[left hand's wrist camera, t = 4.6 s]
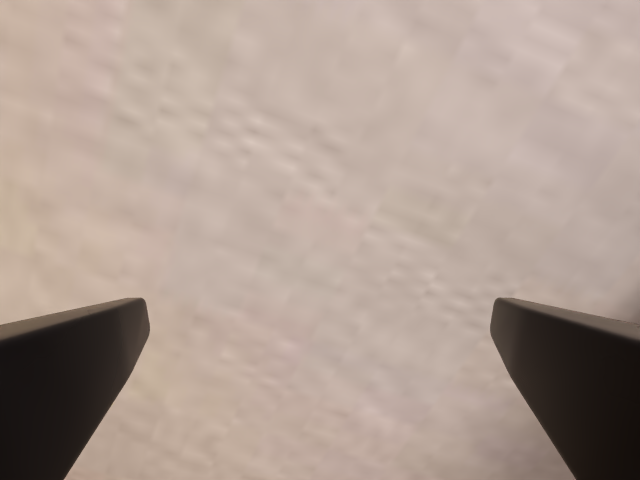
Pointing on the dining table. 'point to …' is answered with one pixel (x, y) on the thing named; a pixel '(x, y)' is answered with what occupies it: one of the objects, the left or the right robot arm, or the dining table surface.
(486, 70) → the dining table surface
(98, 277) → the dining table surface
